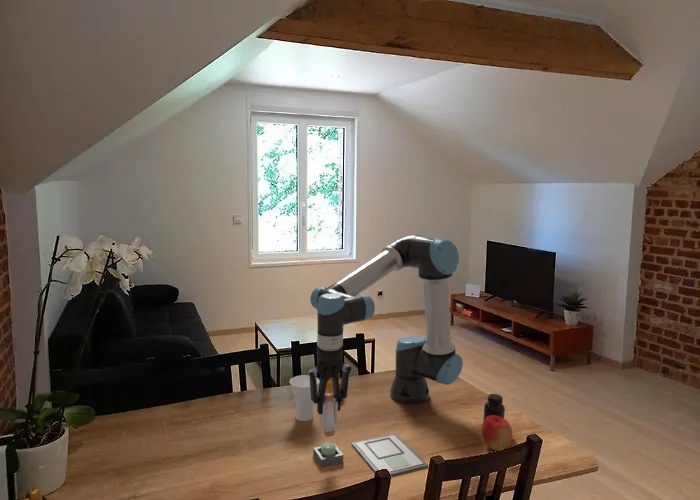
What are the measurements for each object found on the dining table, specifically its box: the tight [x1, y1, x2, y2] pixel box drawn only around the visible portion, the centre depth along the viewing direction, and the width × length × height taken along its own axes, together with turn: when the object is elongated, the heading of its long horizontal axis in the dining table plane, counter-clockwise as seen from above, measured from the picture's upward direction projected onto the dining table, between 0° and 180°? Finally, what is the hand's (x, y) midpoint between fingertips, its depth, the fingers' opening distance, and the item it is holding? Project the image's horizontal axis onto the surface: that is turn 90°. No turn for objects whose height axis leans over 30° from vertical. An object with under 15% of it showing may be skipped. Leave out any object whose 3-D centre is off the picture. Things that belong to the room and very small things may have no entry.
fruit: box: [325, 378, 341, 399], centre depth 200 cm, size 8×8×8 cm
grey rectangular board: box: [350, 433, 429, 477], centre depth 160 cm, size 20×16×1 cm
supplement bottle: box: [482, 393, 506, 422], centre depth 177 cm, size 7×7×12 cm
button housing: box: [312, 443, 344, 468], centre depth 158 cm, size 7×7×2 cm
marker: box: [323, 393, 336, 437], centre depth 155 cm, size 4×4×12 cm
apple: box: [481, 415, 513, 451], centre depth 165 cm, size 10×10×10 cm
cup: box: [289, 374, 320, 422], centre depth 183 cm, size 10×10×14 cm
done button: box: [321, 442, 337, 457], centre depth 157 cm, size 4×4×3 cm
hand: (328, 421), depth 156 cm, fingers closed on marker, 3 cm apart
